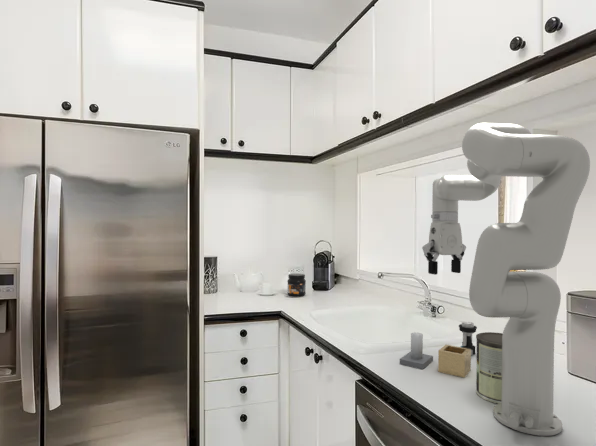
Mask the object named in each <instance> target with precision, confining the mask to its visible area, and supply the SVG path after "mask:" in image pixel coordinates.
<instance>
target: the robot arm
mask: <svg viewBox="0 0 596 446" xmlns="http://www.w3.org/2000/svg"><path fill="white" fill-rule="evenodd" d="M461 142H462V143H461V149H462V154H463V156H464V157H465V158H466V159H467V161H466V164H467V165H466V166H467V169H468V172H469V173H470V174H445V175H443V176H441V177H440V178H436V179H434V180H433V181H432V199H431V201H432V205H431V206H432V207H431V208H432V209H431V212H432V214H430V218H431V223H430V227H429V233H428V234H429V235H428V242H427V243H426V244H425V245H423V246H422V247H421V249H422V252H423V253H424V254H423V256H424V257H425V258H426V261H427V262H428V263H427V265H428V268H427V269H428V270H427V271H428V274H429V275H438V272H439V271H438V263H439V262H438V261H437V259H438V258H439V256H450V257H451V260H450V261H451V263H450V266H451V267H450V270H451V273H454V274H461V269H462V267H461V266H462V262H461V261H462V260H463V257H464V255H465V252H466V249H467V246H466V245H465V244H464V243H463V234H462V227H461V224H460V222H459V201H467V202H468V201H470V202H474V201H475V202H478V201H482V200H484V199H486V198H488V197H490V196H492V195H493V194H494V193H495V192H497V190H498V188H499V187H500V184H501V181H502V180H501V179H502V177H515V178H516V177H522V178H525V177H526V178H531V177H533V178H535V177H536V178H541V179H542V181H540V182H539V183H538V184H537V185H536V186H535V187H534V188H533V189H532V190H531V192H530V193H529V194H528V195H527V197H526V198H525V201H524V203H523V209H522V213H521V216H520V219H519V220H518V221H516V222H497V223H493V224H490V225H489V226H487V227H486V228H485V229H483V231H482V232H481V234H480V235H479V238H478V241H477V246H476V249H475V255H474V260H473V265H472V271H471V277H470V281H469V289H468V295H469V303H470V305H471V307H472V310H473V311H474V312H475V313H476V314H478V315H480V316H482V317H485V318H491V319H493V318H509V319H508V321H507V322H506V324H505V326H504V328H503V331H502V333H503V335H502V403H499V404H497V403H496V405H494V407H493V411H492V412H493V416H494V418H495V419H496V420H497V421H498V422H499V423H501V424H502V425H504V426H506V427H508V428H509V429H510V428H511V429H512V430H514V431H518V432H520V433H523V434H529V435H534V436H539V437H543V436H544V437H547V436H548V437H550V436H554V435H555V436H556V435H558V434H560V433H561V432H562V431H563V422H562V420H561V419H560V418H559V417H558V416H557V415H556V414H554V393H555V391H554V383H555V380H554V377H555V375H554V374H555V372H554V371H555V370H554V369H555V365H554V364H555V335H556V334H555V330H556V323H557V318H558V314H559V309H560V305H561V298H562V297H561V296H562V294H561V290H560V287H559V285H558V283H557V282H556V281H555V279H554V278H552V277H551V276H549V275H547V274H546V273H542V272H539V270H540V271H541V270H549V269H553V268H556V267H557V266H558V265H559V264H560V262H561V260H562V258H563V255H564V252H565V249H566V246H567V245H566V244H567V241H568V238H569V234H570V229H571V226H572V221H573V218H574V213H575V210H576V206H577V203H578V202H579V200H580V197H581V195H582V192H583V191H584V188H585V186H586V184H587V182H588V179H589V175H590V172H591V171H590V169H591V160H590V154H589V153H588V151H587V148H586V146H585V145H584V144H583V143H582V142H580V141H579V140H577V139H575V138H572V137H569V136H565V135H558V134H544V133H543V134H537V133H535V134H532V133H531V131H530V130H529V129H528V128H526V127H525V126H523V125H521V124H517V123H516V124H515V123H506V122H505V123H502V122H501V123H500V122H499V123H498V122H480V123H476V124H474V125H472V126H471V127H469V128H468V129H467V131H466V132H465V133H464V136H463V139H462V141H461ZM522 270H523V271H522ZM533 270H534V271H533ZM537 271H538V272H537Z"/></svg>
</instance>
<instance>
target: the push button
mask: <svg viewBox="0 0 596 446" xmlns="http://www.w3.org/2000/svg"><path fill="white" fill-rule="evenodd" d="M458 328H459V331H460V332H461V333H462V342H461V343H462V345H461V346H460V347H462V348H467V349H471V356H473V355H476V345H474V344H473V334H474V333H476V332H477V329H478V327H477V326H476V325H475V323H474V322H471V321H461V323H460V324H459V325H458Z"/></svg>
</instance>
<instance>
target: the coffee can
mask: <svg viewBox="0 0 596 446" xmlns="http://www.w3.org/2000/svg"><path fill="white" fill-rule="evenodd" d="M502 335H503V332H489V331H488V332H480V333H477V334H476V336H475V339H476V367H475V368H476V374H475V376H476V378H475V379H476V381H475V382H476V383H475V384H476V385H475V387H476V390H475V393H476V394H477V396H479V398H481V399H483V400H485V401H487V402H490V403H494V404H496V405H497V404H499V403H502Z"/></svg>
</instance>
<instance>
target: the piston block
mask: <svg viewBox="0 0 596 446" xmlns="http://www.w3.org/2000/svg"><path fill="white" fill-rule="evenodd" d="M423 337H424V335H423V333H420V332H411V333H410V351H409V352H408V353H406V354H405V355H403V356H402V357H400V358H399V365H402V366H407V367H410V368H414V369H419V370H424V369H425V368H427V367H428V366H429V365H431V364H432V363H433V362H434V356H433V355H431V354H426V353H423V349H424V347H423V345H424V344H423V343H424V342H423V341H424V338H423Z"/></svg>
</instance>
